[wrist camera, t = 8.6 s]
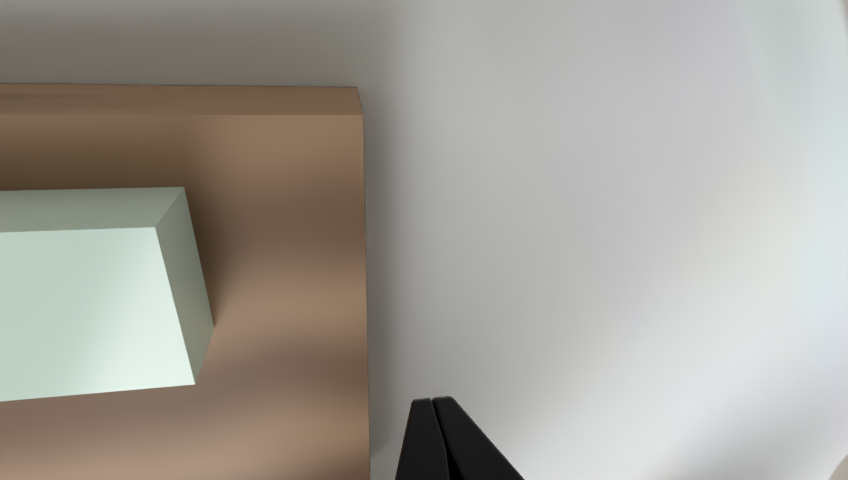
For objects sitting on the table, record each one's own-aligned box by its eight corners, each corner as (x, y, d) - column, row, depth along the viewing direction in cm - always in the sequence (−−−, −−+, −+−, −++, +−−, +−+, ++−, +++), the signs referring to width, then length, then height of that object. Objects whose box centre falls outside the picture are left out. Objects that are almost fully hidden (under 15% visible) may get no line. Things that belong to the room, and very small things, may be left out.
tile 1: (214, 328, 16) (195, 384, 13) (44, 340, 15) (-6, 401, 13) (184, 186, 13) (154, 227, 11) (-20, 191, 12) (-96, 236, 10)
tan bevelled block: (366, 462, 26) (371, 535, 23) (63, 498, 24) (16, 587, 20) (356, 87, 17) (362, 115, 13) (-152, 81, 14) (-312, 114, 11)
